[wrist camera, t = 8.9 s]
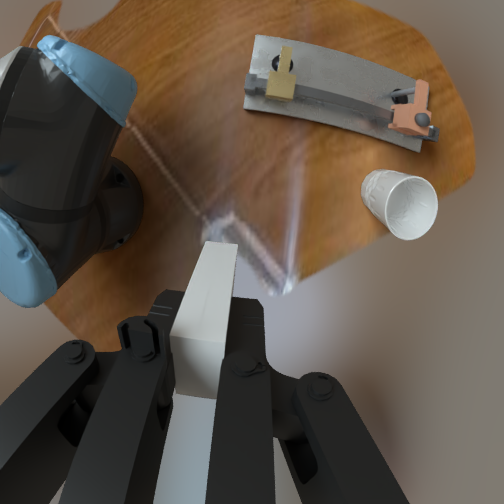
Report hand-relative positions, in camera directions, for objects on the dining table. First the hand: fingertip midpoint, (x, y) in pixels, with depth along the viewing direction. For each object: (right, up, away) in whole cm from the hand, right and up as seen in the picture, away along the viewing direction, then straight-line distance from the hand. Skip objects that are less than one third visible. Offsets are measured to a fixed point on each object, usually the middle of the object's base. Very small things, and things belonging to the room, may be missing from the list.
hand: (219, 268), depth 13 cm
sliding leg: (+21, +20, +17) cm, 34 cm away
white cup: (+21, +10, +24) cm, 33 cm away
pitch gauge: (+14, +23, +18) cm, 32 cm away
